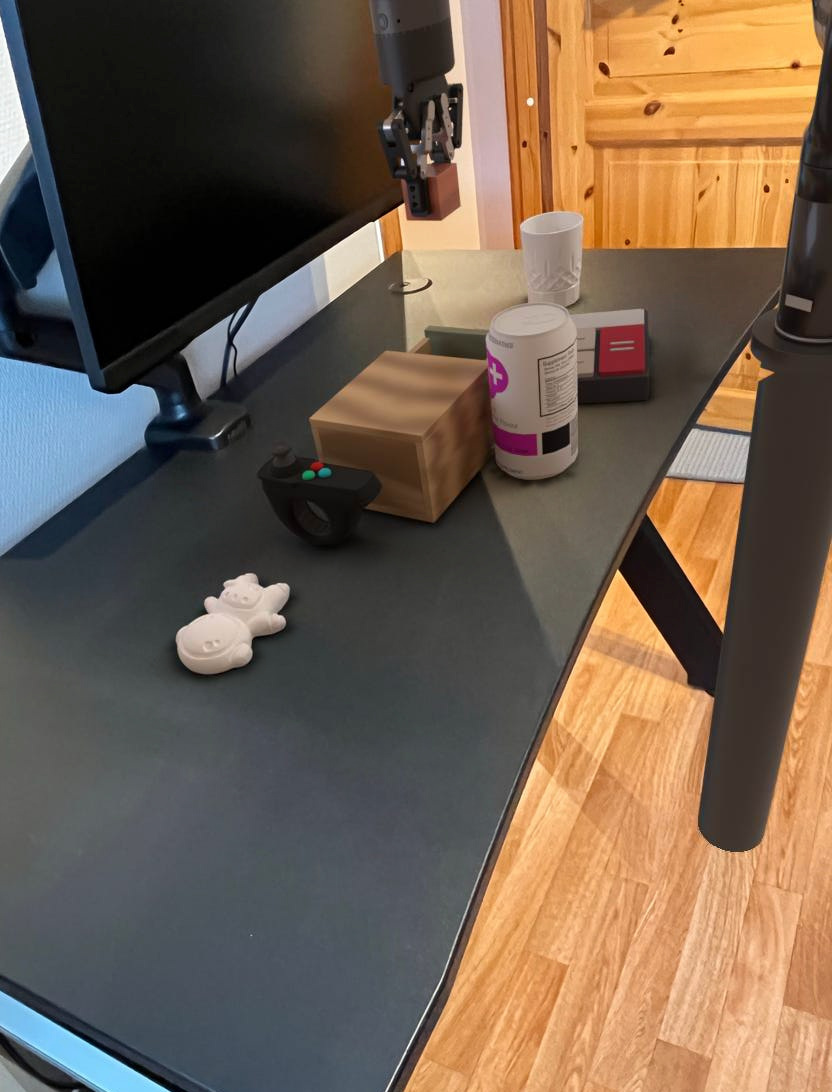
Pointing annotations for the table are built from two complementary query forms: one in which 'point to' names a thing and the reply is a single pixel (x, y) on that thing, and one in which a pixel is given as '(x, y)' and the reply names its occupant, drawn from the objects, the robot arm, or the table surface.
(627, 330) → the calculator
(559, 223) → the white cup
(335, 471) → the controller
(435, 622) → the table surface
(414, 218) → the block
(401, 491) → the cabinet
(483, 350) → the drawer
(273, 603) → the white animal figurine
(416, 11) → the robot arm
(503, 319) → the supplement can
